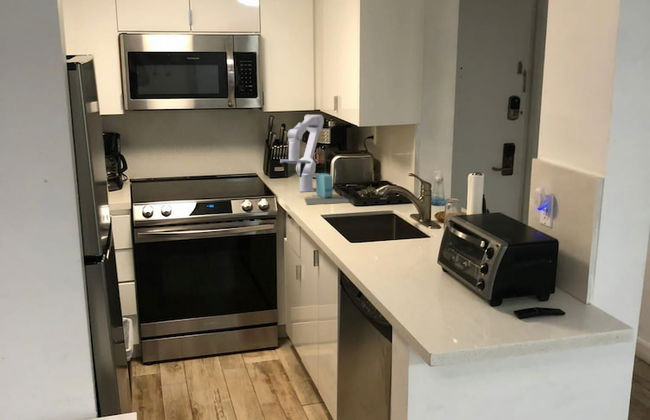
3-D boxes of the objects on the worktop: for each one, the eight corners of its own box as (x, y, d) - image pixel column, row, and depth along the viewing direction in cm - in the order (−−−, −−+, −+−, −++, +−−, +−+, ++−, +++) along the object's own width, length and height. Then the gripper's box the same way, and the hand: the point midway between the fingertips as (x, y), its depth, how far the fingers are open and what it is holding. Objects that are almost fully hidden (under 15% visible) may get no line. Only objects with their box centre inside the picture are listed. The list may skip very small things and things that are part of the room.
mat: (304, 199, 353) (304, 198, 353) (345, 196, 355) (345, 196, 355) (306, 204, 339) (306, 204, 339) (349, 202, 342) (349, 202, 342)
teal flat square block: (332, 197, 352) (332, 175, 350) (324, 198, 351) (324, 176, 348) (324, 194, 363) (323, 172, 361) (316, 195, 362) (315, 173, 359)
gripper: (281, 150, 352) (280, 176, 353) (308, 152, 353) (307, 177, 355) (280, 150, 359) (279, 176, 360) (307, 152, 360) (306, 177, 361)
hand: (293, 177), depth 358 cm, fingers open, 7 cm apart
